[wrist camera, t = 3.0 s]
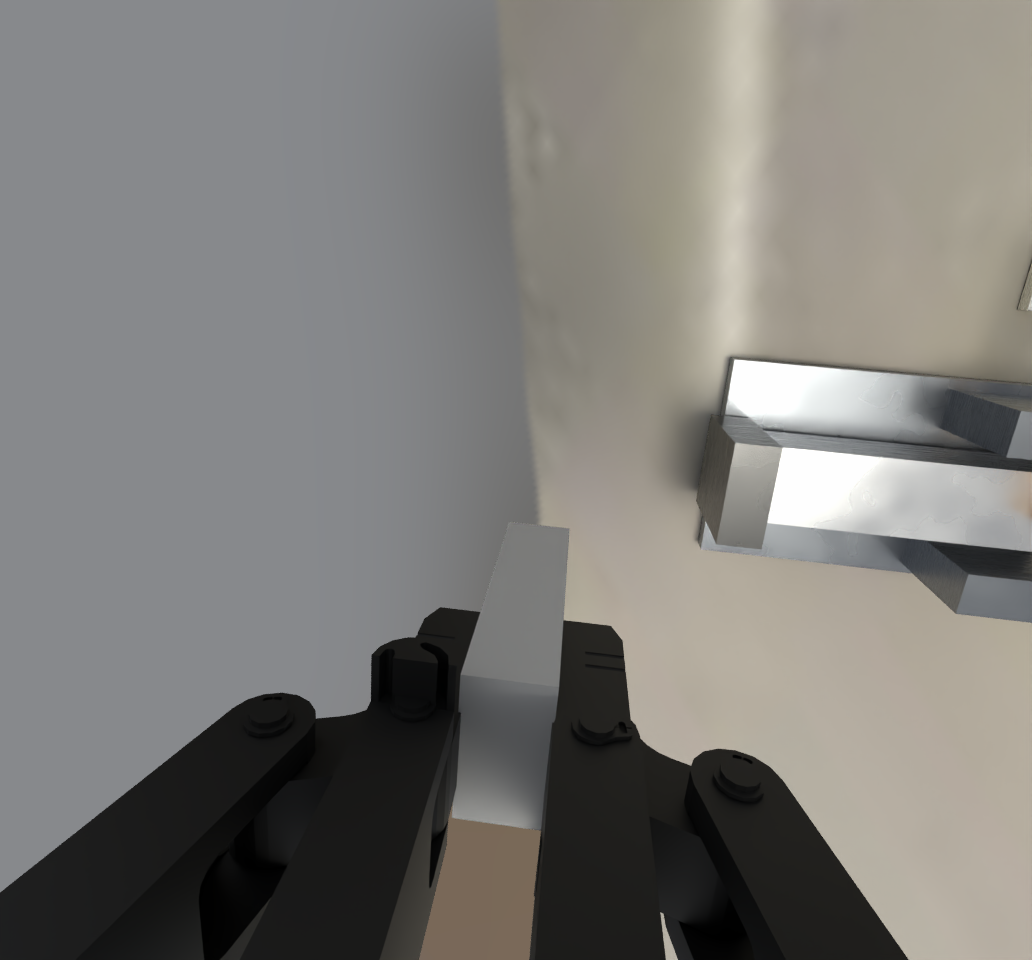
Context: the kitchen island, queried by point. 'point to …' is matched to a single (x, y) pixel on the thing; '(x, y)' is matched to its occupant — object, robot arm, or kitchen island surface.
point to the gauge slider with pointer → (859, 488)
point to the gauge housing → (904, 420)
